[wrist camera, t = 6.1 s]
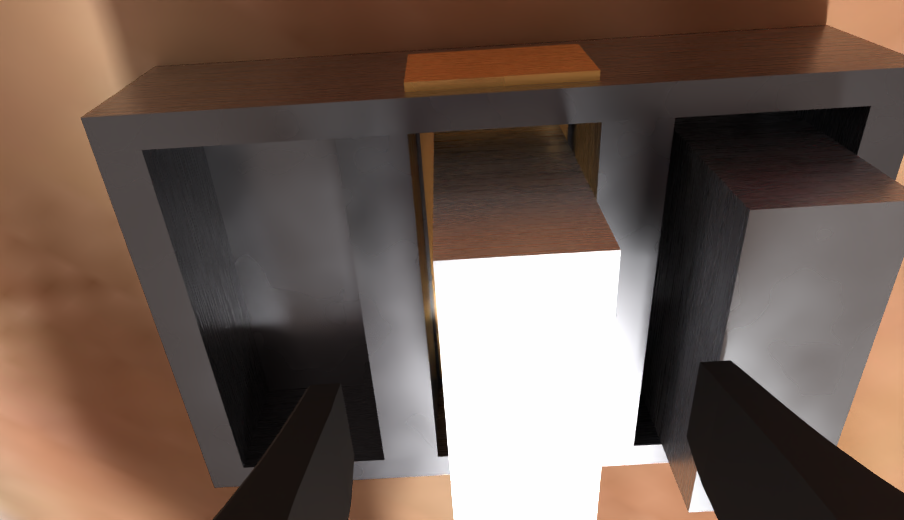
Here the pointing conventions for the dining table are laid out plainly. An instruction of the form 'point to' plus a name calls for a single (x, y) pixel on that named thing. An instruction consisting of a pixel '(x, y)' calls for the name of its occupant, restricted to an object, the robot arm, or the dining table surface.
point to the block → (522, 322)
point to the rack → (411, 226)
